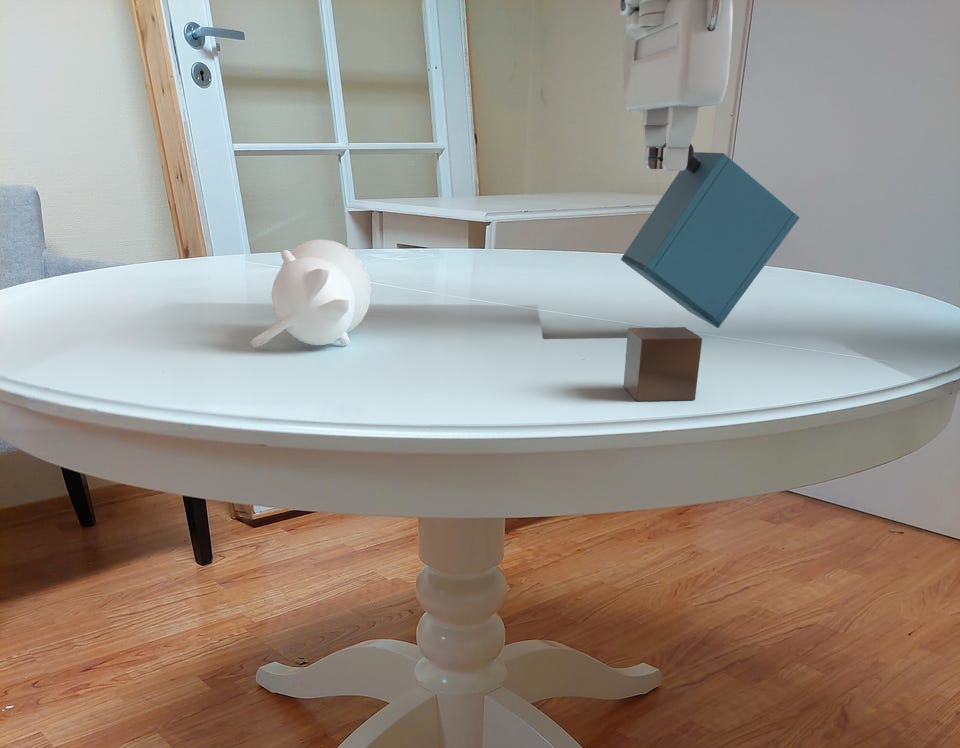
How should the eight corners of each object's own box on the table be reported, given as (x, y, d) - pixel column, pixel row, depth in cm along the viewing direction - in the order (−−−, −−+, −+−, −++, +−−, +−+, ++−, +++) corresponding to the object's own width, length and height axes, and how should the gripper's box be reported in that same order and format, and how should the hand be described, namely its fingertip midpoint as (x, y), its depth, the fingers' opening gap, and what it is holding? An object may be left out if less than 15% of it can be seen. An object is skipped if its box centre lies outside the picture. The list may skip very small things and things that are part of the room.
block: (678, 385, 63) (685, 326, 61) (695, 400, 59) (702, 338, 57) (623, 387, 62) (627, 327, 60) (636, 401, 59) (642, 338, 57)
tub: (690, 312, 89) (762, 210, 85) (718, 328, 81) (800, 217, 77) (595, 240, 85) (666, 130, 81) (615, 250, 77) (695, 129, 73)
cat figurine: (313, 226, 66) (337, 210, 77) (206, 306, 69) (243, 280, 80) (381, 329, 70) (395, 300, 80) (277, 400, 73) (303, 363, 83)
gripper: (765, -47, 63) (737, 173, 70) (684, -5, 81) (668, 167, 87) (678, -48, 62) (659, 173, 69) (615, -6, 80) (605, 167, 87)
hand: (663, 170), depth 78 cm, fingers closed on tub, 5 cm apart
